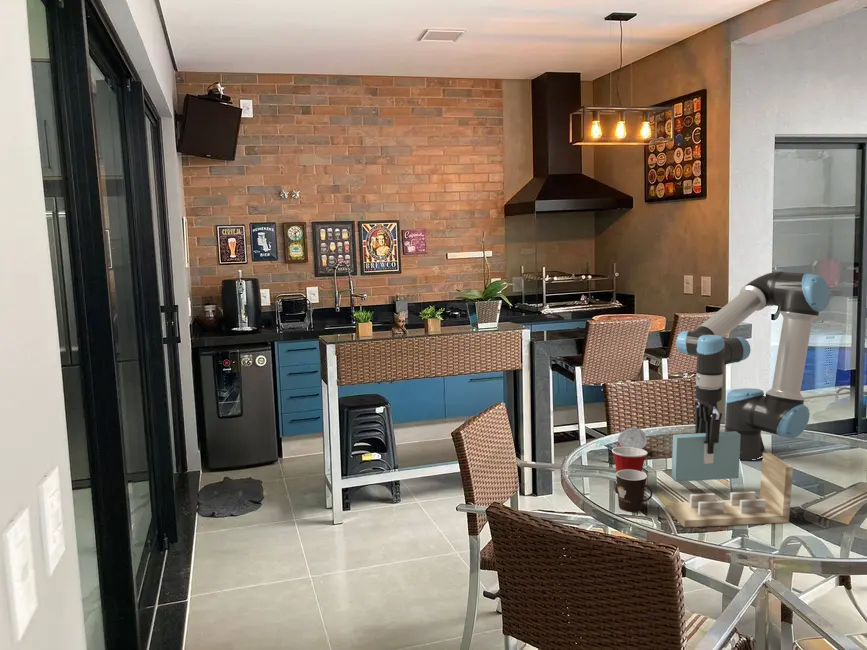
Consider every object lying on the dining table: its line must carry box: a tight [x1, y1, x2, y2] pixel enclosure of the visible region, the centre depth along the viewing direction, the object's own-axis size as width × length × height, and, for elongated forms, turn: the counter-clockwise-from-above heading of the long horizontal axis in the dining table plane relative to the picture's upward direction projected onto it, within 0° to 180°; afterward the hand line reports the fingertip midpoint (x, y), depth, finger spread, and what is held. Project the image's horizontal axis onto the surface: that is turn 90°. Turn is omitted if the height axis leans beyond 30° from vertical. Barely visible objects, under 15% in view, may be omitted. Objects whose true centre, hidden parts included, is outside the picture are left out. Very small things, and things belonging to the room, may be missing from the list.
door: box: [671, 431, 741, 483], centre depth 227 cm, size 20×3×14 cm, turn 95°
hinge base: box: [666, 452, 794, 528], centre depth 208 cm, size 30×12×16 cm, turn 95°
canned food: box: [616, 427, 648, 451], centre depth 262 cm, size 11×10×10 cm
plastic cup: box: [611, 446, 648, 474], centre depth 231 cm, size 11×11×12 cm
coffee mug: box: [615, 469, 653, 513], centre depth 214 cm, size 12×9×10 cm
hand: (705, 460), depth 227 cm, fingers closed on door, 3 cm apart
